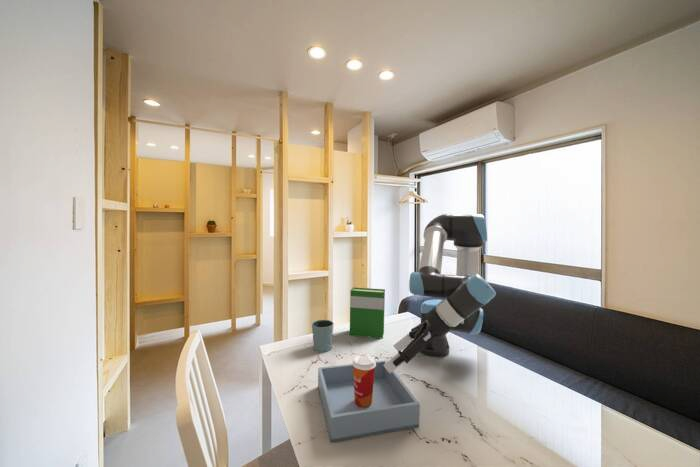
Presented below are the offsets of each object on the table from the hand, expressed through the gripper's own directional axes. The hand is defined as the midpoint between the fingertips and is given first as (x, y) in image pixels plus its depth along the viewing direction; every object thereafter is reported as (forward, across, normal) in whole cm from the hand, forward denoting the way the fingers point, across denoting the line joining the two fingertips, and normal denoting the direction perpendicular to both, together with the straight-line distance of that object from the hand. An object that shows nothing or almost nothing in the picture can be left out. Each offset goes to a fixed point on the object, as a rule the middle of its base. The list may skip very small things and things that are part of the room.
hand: (391, 358), depth 84 cm
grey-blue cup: (+41, +31, +16) cm, 53 cm away
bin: (+19, 0, -6) cm, 19 cm away
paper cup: (+18, 0, -5) cm, 19 cm away
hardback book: (+31, +56, +6) cm, 64 cm away
